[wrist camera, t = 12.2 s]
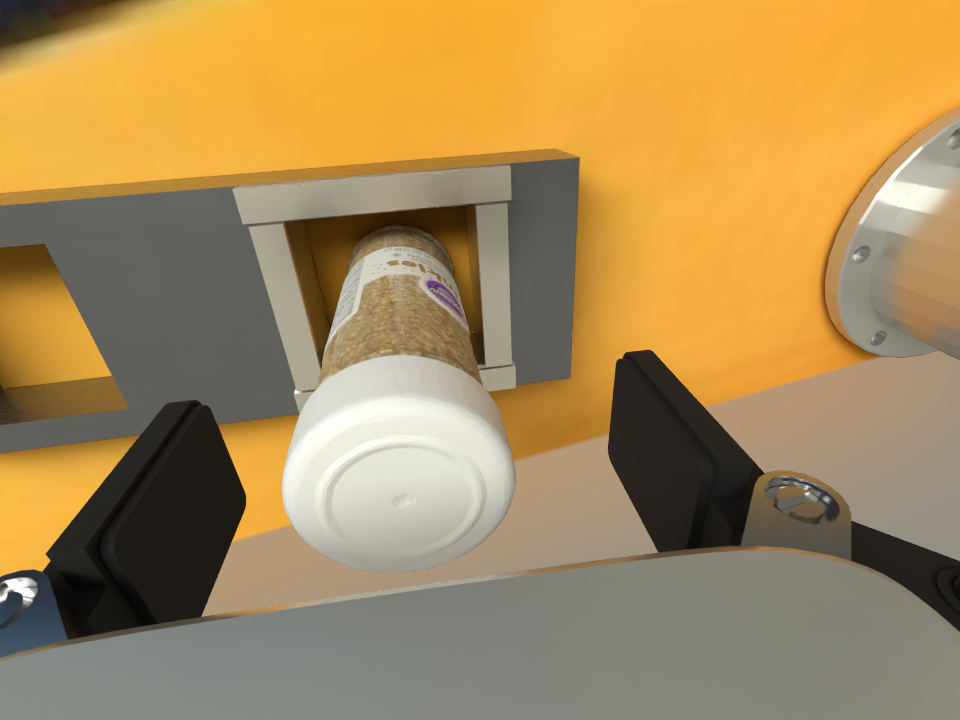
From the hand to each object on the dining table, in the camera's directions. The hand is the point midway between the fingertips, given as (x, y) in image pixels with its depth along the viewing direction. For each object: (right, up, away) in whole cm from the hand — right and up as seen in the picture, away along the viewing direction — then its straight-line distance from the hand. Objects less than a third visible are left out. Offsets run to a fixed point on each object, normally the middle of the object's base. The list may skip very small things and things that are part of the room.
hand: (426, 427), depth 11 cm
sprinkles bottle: (-2, +5, +10) cm, 11 cm away
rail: (-9, +4, +9) cm, 14 cm away
